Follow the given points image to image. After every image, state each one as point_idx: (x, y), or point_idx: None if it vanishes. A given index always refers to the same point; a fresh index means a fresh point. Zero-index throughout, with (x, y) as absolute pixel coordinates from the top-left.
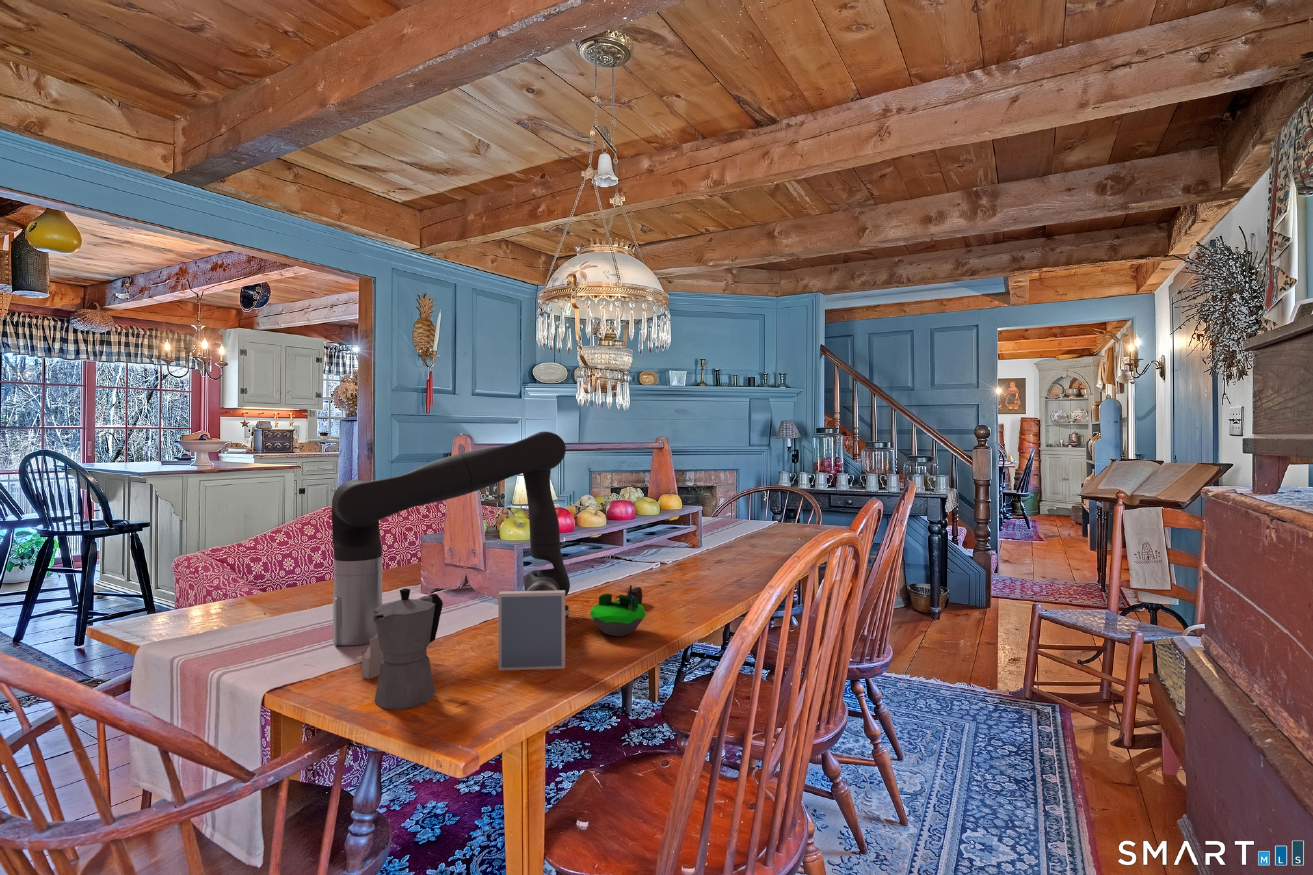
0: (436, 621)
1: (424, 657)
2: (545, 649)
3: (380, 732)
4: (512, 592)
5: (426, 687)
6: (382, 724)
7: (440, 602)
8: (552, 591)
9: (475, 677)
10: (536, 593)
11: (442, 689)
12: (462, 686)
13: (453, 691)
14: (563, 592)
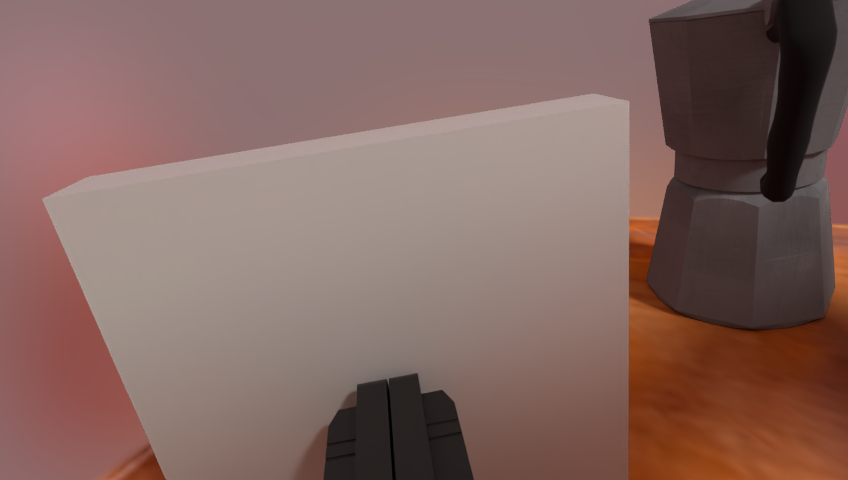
0: (772, 123)
1: (683, 183)
2: None
3: (631, 220)
4: (504, 114)
5: (653, 249)
6: (656, 230)
7: (779, 38)
8: (173, 171)
9: (651, 426)
10: (310, 143)
11: (684, 338)
12: (636, 361)
13: (635, 334)
14: (96, 176)
